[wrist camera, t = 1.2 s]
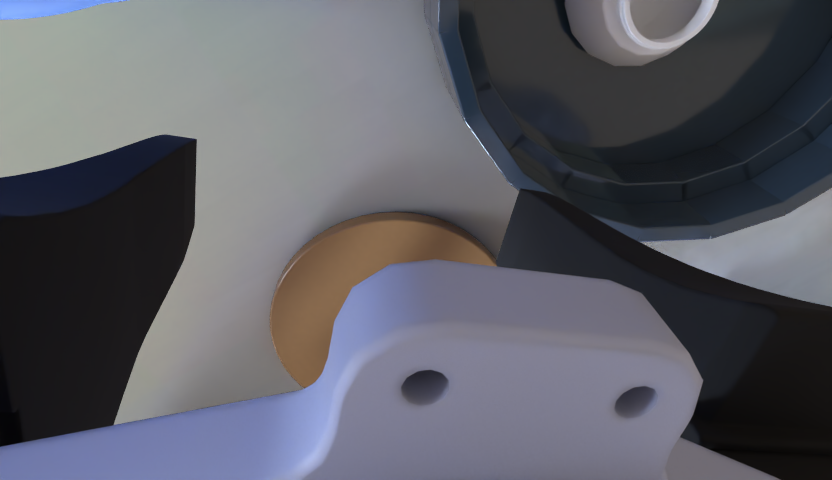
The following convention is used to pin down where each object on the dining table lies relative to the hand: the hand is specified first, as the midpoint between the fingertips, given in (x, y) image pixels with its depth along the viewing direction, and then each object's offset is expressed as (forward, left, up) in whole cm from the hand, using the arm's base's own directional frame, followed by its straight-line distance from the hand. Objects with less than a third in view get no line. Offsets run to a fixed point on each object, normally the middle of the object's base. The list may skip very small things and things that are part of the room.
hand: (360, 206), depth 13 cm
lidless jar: (-8, -6, -10) cm, 14 cm away
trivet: (-4, +10, -10) cm, 14 cm away
